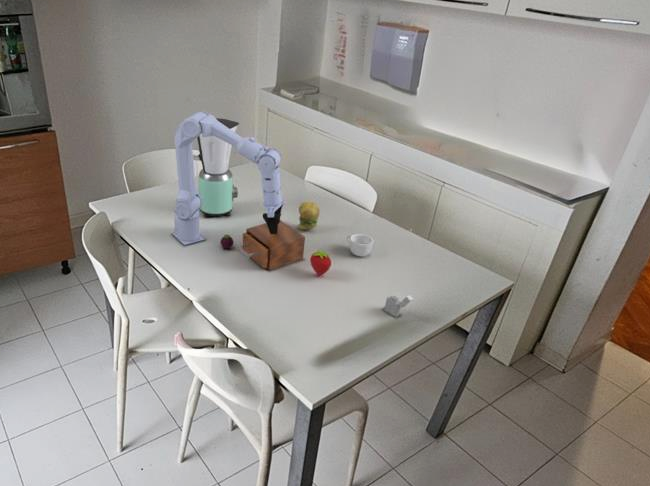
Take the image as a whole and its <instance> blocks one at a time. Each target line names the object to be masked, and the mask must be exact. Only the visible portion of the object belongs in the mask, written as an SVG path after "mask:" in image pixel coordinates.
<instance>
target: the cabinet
mask: <svg viewBox="0 0 650 486" xmlns="http://www.w3.org/2000/svg"><path fill="white" fill-rule="evenodd" d="M245 231H246V233H247V234H249V235H250V234H251V235H252V236H254V237H255V238H256V239H258V240H259V241H260V242H262V243H263V244H264V245H266V246H267V247H268V248H270V249H269V264H268V263H267V268H266V270H268V271H272V270H276V269H279V268H282V267H284V266H288V265H290V264H293V263H296V262H299V261H302V260H304V253H305V242H306V236H305V235H303V234H302V233H300V232H299V231H297V230H296V229H295V228H293V227H291V226H290V225H289V224H287V223H286V222H284V221H283V220H281V219H280V222H279V224H278V231H277V234H270V232H269V229H268V226H267V223H266V222H265V223H262V224H258V225H255V226H251V227H247V228H246V229H245Z"/></svg>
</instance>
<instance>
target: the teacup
mask: <svg viewBox="0 0 650 486" xmlns="http://www.w3.org/2000/svg"><path fill="white" fill-rule="evenodd" d="M346 241H347V242H348V244H349V251H350V252H351V254H353V255H354V256H356V257H361V258H362V257H366V256H368V255H369V254H370V253H371V252H372V250H373V247H374V238H372V237H371V236H370V235H367V234H363V233H354V234H352V235H348V236H347V237H346Z"/></svg>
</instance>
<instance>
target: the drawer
mask: <svg viewBox="0 0 650 486" xmlns="http://www.w3.org/2000/svg"><path fill="white" fill-rule="evenodd" d="M234 249H235V250H236V251H238V252H239V253H240V254H241V255H242V256H244V258H246V259H252V261H254V262H255V263H256V264H258V265H259V266H260V267H261V268H262V269H267V263H268V264H269V249H270V248H268V247H267V246H266V245H264V244H263V243H262V242H260V241H259V240H258V239H256V238H255V237H254V236H252V235H251V234H250V235H249V234H247V233H246V232H243V233H242V244H241V245H238V244H236V245H235V246H234Z"/></svg>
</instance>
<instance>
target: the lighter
mask: <svg viewBox="0 0 650 486" xmlns="http://www.w3.org/2000/svg"><path fill="white" fill-rule="evenodd" d="M413 299H414V298H413V297H412V296H411V294H409V295H407V296H406V297H405V298H404V299H403V300H401V301H400V300H399V297H397V296H396V295H389V296H387V297H386V300H385V305H384V308H383V310H384V311H385V313H387V314H389V315H391V316H393V317H395V318H396V317H398V316H399V315H400V312H401V309H403V308H405V307H406V306H408V304H409V303H410V302H411V301H413Z"/></svg>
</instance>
